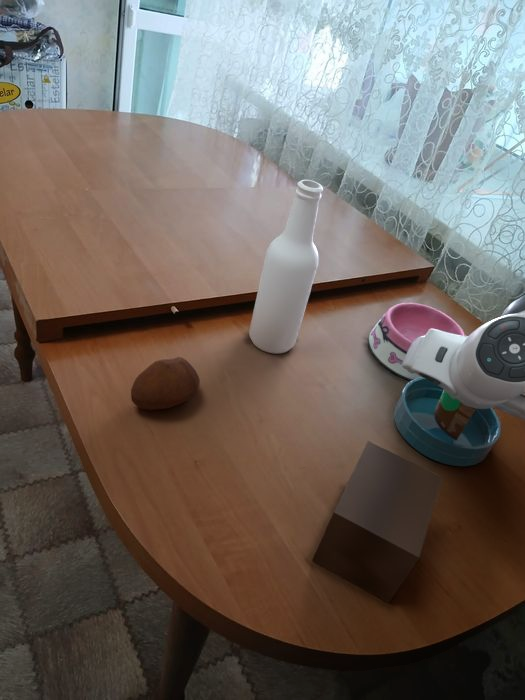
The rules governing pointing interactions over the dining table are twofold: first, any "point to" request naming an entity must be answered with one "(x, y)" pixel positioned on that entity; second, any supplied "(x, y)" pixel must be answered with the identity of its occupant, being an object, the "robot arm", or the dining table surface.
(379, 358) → the dog bowl
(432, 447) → the teal bowl
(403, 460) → the stand
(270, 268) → the alcohol
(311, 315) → the dining table surface
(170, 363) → the potato
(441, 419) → the food container
